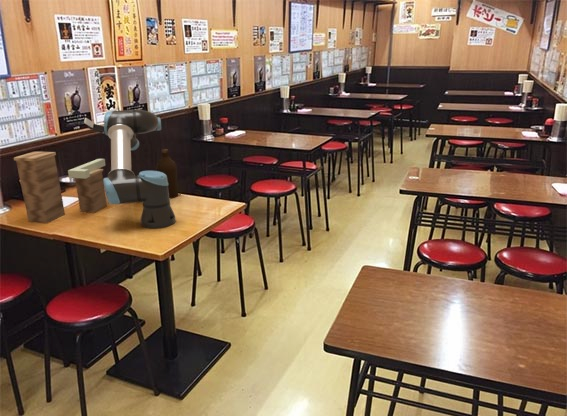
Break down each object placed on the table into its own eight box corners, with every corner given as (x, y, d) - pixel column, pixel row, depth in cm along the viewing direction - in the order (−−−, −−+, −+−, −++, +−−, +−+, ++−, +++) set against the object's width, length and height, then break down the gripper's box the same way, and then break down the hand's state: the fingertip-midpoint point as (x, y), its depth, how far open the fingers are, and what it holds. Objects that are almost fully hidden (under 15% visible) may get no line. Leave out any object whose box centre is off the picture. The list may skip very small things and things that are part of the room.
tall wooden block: (66, 214, 219) (55, 152, 209) (48, 223, 207) (35, 158, 197) (46, 212, 221) (34, 151, 212) (26, 222, 209) (13, 157, 200)
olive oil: (176, 191, 251) (172, 146, 243) (181, 197, 242) (177, 150, 234) (157, 194, 247) (152, 148, 239) (161, 200, 238) (156, 152, 230)
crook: (99, 165, 231) (98, 158, 230) (114, 165, 230) (113, 159, 228) (69, 177, 209) (67, 170, 208) (85, 178, 207) (84, 171, 206)
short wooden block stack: (108, 205, 230) (103, 168, 224) (95, 213, 220) (89, 174, 214) (92, 204, 232) (86, 168, 226) (78, 212, 222) (72, 173, 215)
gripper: (139, 142, 245) (118, 128, 225) (98, 141, 250) (73, 127, 230) (142, 129, 247) (121, 113, 226) (100, 128, 252) (76, 113, 231)
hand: (97, 120), depth 228 cm, fingers open, 13 cm apart
